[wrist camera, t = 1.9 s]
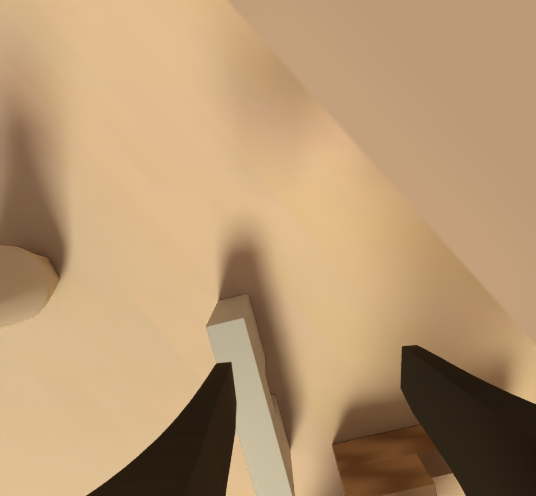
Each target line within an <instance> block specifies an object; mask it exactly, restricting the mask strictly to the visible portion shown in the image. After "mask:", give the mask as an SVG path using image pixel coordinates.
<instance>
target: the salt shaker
mask: <svg viewBox="0 0 536 496" xmlns="http://www.w3.org/2000/svg"><path fill="white" fill-rule="evenodd" d="M58 280H59V277H58V275H57V273H56V272H55V270H54V268H53V266H52V264H51V262H50V260H49V259H48V258H47V257H43V256H40V255H36V254H34V253H32V252H29V251H27V250H25V249H22V248H20V247H18V246H6V245H0V328H4V327H7V326H11V325H15V324H18V323H21V322H23V321H25V320H28V319H30V318H33V317H34V316H36V315H37V314H39V312H40V311H41V310H42V309H43V307H44V306H45V305H46V304H47V302H48V301H49V299H50V297H51V295H52V293H53V291H54V289H55V286H56V284H57V282H58Z"/></svg>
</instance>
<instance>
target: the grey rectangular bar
mask: <svg viewBox="0 0 536 496" xmlns="http://www.w3.org/2000/svg"><path fill="white" fill-rule="evenodd" d="M206 330H207V333H208V336H209V340H210V343H211V346H212V350H213V353H214V356H215V360H216V363H223V362H232V369H233V377H234V385H235V393H236V401H237V410H236V431H237V434H238V437H239V441H240V444H241V447H242V451H243V454H244V457H245V461H246V464H247V468H248V471H249V474H250V478H251V481H252V484H253V488H254V491H255V495H256V496H295V492H294V483H293V473H292V463H291V453H290V448H289V445H288V441H287V437H286V433H285V430H284V426H283V422H282V418H281V415H280V411H279V407H278V403H277V400H276V396H275V394H274V395H271V394H270V391H269V387H268V383H267V380H266V376H265V355H264V351H263V347H262V344H261V340H260V336H259V332H258V329H257V325H256V321H255V317H254V314H253V310H252V306H251V302H250V299H249V295H248V294H244V295H240V296H236V297H232V298H227V299H223V300H219V301H218V302H217V304H216V307H215V309H214V311H213V313H212V315H211V317H210V319H209V321H208V323H207V325H206Z"/></svg>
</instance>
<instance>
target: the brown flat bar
mask: <svg viewBox="0 0 536 496" xmlns="http://www.w3.org/2000/svg"><path fill="white" fill-rule="evenodd" d="M332 446H333V450H334V454H335V459H336V463H337V467H338V471H339V474H340V478H341V482H342V485H343V489H344V493H345V496H437V494H436V488H435V484H434V482H433V480H432V479H431V478H432V477H436V476H441V475H446V474H450V473H453V472H452V471H451V469H450V468H449V466H448V465H447V463H446V462H445V460H444V459H443V457H442V456H441V454H440V453H439V451H438V450H437V448H436V447H435V445H434V444H433V442H432V441H431V439H430V438H429V436H428V435H427V433H426V432H425V430H424V429H423V427H422V426H421V425H417V426H413V427H408V428H404V429H399V430H395V431H391V432H386V433H382V434H377V435H373V436H368V437H364V438H359V439H355V440H351V441H346V442H342V443H337V444H333V445H332Z"/></svg>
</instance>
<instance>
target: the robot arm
mask: <svg viewBox="0 0 536 496" xmlns="http://www.w3.org/2000/svg"><path fill="white" fill-rule="evenodd" d="M401 390H402V392H403V394H404V396H405V398H406V400H407V402H408V404H409V406H410V408H411V410H412V412H413V413H414V415H415V416H416V418H417V420H418V421H419V423H420V424H421V426H422V427H423V429H424V430H425V432H426V433H427V435H428V436H429V438H430V439H431V441H432V442H433V444H434V445H435V447H436V448H437V450H438V451H439V453H440V454H441V456H442V457H443V459H444V460H445V462H446V463H447V465H448V466H449V468H450V469H451V471H452V472H453V474H454V476H455V477H456V479H457V480H458V482H459V484H460V486H461V487H462V489H463V491H464V493H465V495H466V496H536V404H534V403H531V402H529V401H527V400H524V399H522V398H520V397H517V396H515V395H513V394H510V393H508V392H506V391H504V390H502V389H499V388H497V387H495V386H493V385H491V384H489V383H487V382H485V381H483V380H481V379H479V378H477V377H475V376H473V375H471V374H469V373H468V372H466V371H464V370H462V369H460V368H458V367H456V366H455V365H453V364H451V363H449V362H447V361H446V360H444V359H442V358H440V357H438V356H437V355H435V354H433V353H431V352H429V351H427V350H425V349H424V348H422V347H419V346H417V345H412V346H402V361H401ZM236 410H237V401H236V393H235V385H234V377H233V369H232V362H223V363H217V364H216V365H215V366H214V368H213V369H212V371H211V372H210V374H209V375H208V377H207V378H206V380H205V381H204V383H203V384H202V386H201V387H200V389H199V390H198V391H197V393H196V394H195V395H194V397H193V398H192V399H191V401H190V402H189V403H188V405H187V406H186V407H185V408H184V410H183V411H182V412H181V413H180V414H179V416H178V417H177V418H176V419H175V420H174V421H173V423H172V424H171V425H170V426H169V427H168V428H167V429H166V430H165V431H164V432H163V433H162V434H161V435H160V436H159V437H158V438H157V439H156V440H155V441H154V442H153V443H152V444H151V445H150V446H149V447H148V448H147V449H145V450H144V451H143V452H142V453H141V454H140V455H139V456H138V457H137V458H136V459H134V460H133V461H132V462H131V463H130V464H128V465H127V466H126V467H125V468H123V469H122V470H121V471H120V472H118V473H117V474H116V475H114V476H113V477H112V478H111V479H109V480H108V481H107V482H105V483H104V484H103V485H101V486H100V487H98V488H97V489H95V490H94V491H93V492H91V493H90V494H88V495H87V496H226V488H227V481H228V475H229V468H230V462H231V456H232V449H233V443H234V436H235V429H236Z"/></svg>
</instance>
